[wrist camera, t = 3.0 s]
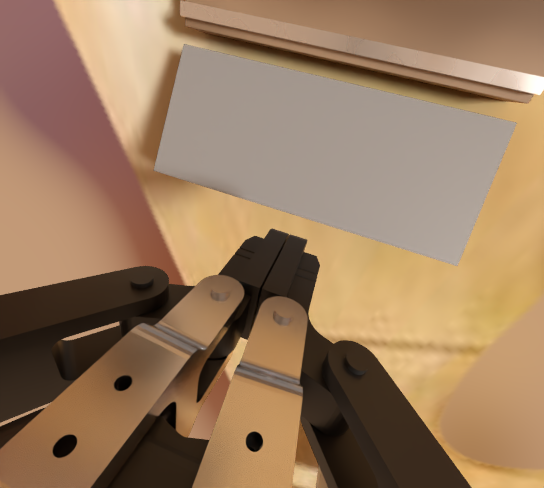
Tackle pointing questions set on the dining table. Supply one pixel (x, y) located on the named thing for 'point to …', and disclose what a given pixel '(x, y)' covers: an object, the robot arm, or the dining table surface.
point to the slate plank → (332, 151)
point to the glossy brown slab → (398, 37)
